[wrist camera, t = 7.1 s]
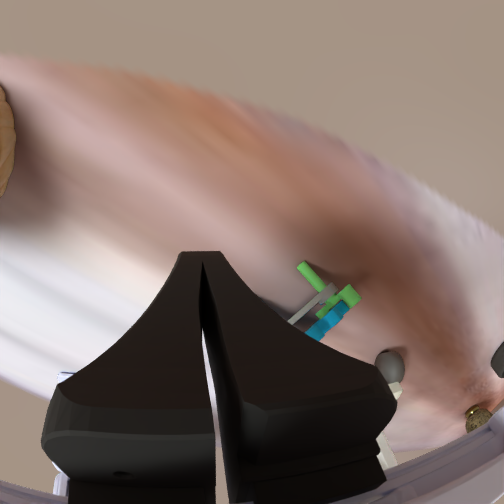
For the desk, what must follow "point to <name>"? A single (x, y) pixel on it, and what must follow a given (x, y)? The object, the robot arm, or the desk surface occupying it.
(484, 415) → the cup
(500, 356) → the smart speaker
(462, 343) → the desk surface
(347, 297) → the blue green toy
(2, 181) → the statue
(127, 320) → the desk surface
